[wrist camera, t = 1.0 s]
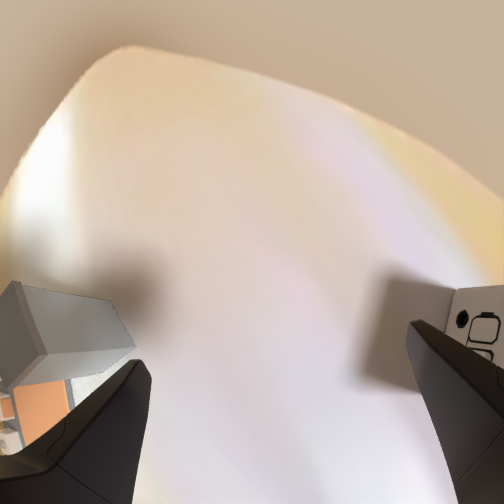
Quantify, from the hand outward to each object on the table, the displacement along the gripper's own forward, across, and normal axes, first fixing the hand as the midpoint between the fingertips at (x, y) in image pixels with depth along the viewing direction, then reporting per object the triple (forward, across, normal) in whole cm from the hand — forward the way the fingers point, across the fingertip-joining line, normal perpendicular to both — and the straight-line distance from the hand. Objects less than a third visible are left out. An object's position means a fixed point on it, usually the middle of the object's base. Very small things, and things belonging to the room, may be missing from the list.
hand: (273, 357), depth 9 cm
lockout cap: (+12, +17, +8) cm, 22 cm away
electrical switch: (+9, -15, +12) cm, 22 cm away
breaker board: (+6, +30, +15) cm, 34 cm away
